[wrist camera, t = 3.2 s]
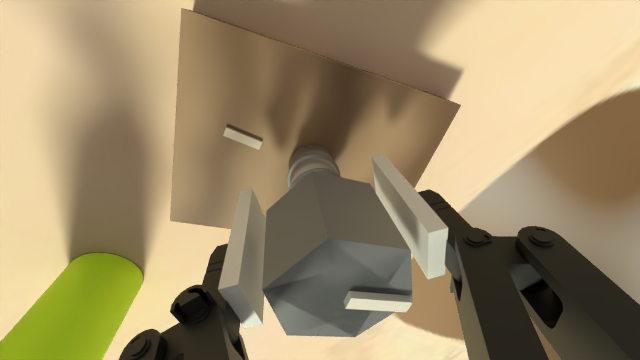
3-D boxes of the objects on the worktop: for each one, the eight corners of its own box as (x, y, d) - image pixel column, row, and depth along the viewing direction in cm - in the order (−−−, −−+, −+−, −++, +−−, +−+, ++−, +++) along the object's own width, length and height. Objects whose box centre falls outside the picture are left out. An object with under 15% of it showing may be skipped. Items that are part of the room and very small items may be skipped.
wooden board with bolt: (178, 205, 21) (131, 290, 14) (192, 10, 15) (119, -7, 8) (373, 234, 26) (407, 308, 19) (445, 98, 20) (535, 135, 13)
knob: (256, 249, 13) (247, 342, 9) (278, 163, 11) (280, 239, 7) (358, 261, 15) (387, 344, 11) (396, 189, 13) (451, 261, 9)
